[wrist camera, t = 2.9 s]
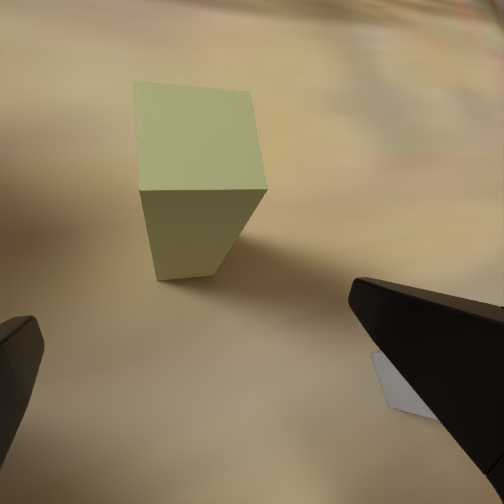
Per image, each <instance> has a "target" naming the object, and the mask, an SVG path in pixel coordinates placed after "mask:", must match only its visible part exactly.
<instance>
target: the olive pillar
mask: <svg viewBox="0 0 504 504" xmlns="http://www.w3.org/2000/svg"><path fill="white" fill-rule="evenodd" d="M133 84H134V102H135V120H136V138H137V156H138V174H139V191H140V196H141V201H142V206H143V211H144V216H145V221H146V227H147V232H148V237H149V242H150V247H151V252H152V257H153V262H154V267H155V272H156V277H157V281H162V280H173V279H183V278H194V277H204V276H214V275H215V273H216V271H217V270H218V268H219V267H220V265H221V263H222V262H223V260H224V259H225V257H226V255H227V254H228V252H229V251H230V249H231V247H232V246H233V244H234V243H235V241H236V239H237V238H238V236H239V235H240V233H241V231H242V230H243V228H244V226H245V225H246V223H247V222H248V220H249V218H250V217H251V215H252V214H253V212H254V210H255V209H256V207H257V206H258V204H259V202H260V201H261V199H262V198H263V196H264V194H265V193H266V191H267V190H268V188H267V182H266V177H265V171H264V166H263V160H262V155H261V150H260V144H259V139H258V133H257V128H256V122H255V117H254V111H253V106H252V101H251V95H250V92H248V91H237V90H226V89H215V88H204V87H193V86H182V85H171V84H160V83H149V82H138V81H133Z"/></svg>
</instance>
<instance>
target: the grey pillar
mask: <svg viewBox="0 0 504 504" xmlns="http://www.w3.org/2000/svg"><path fill="white" fill-rule="evenodd" d="M371 356H372V359H373V362H374V364H375V367H376V370H377V373H378V376H379V379H380V382H381V385H382V388H383V391H384V394H385V397H386V400H387V403H388V406H389V407H392V408H395V409H399V410H402V411H406V412H410V413H413V414H417V415H420V416H424V417H428V418H431V419H435V420H438V419H437V417H436V416H435V415H434V414H433V413H432V411H431V410H430V409H429V408H428V407H427V405H426V404H425V403H424V402H423V401H422V399H421V398H420V397H419V396H418V395H417V393H416V392H415V391H414V390H413V388H412V387H411V386H410V385H409V384H408V382H407V381H406V380H405V379H404V378H403V376H402V375H401V374H400V373H399V372H398V370H397V369H396V368H395V367H394V366H393V364H392V363H391V362H390V361H389V360H388V358H387V357H386V356H385V355H384V354H383V352H382V351H381V350H377V351H374V352H371ZM438 421H439V420H438Z"/></svg>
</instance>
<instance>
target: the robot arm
mask: <svg viewBox="0 0 504 504" xmlns="http://www.w3.org/2000/svg"><path fill="white" fill-rule="evenodd" d="M348 303H349V306H350V308H351V309H352V311H353V312H354V314H355V315H356V317H357V318H358V320H359V321H360V323H361V324H362V326H363V327H364V329H365V330H366V332H367V333H368V334H369V336H370V337H371V339H372V340H373V341H374V343H375V344H376V345H377V346H378V347H379V349H380V350H381V351H382V352H383V354H384V355H385V356H386V357H387V358H388V360H389V361H390V362H391V363H392V364H393V366H394V367H395V368H396V369H397V370H398V372H399V373H400V374H401V375H402V376H403V378H404V379H405V380H406V381H407V382H408V384H409V385H410V386H411V387H412V388H413V390H414V391H415V392H416V393H417V395H418V396H419V397H420V398H421V399H422V401H423V402H424V403H425V404H426V405H427V407H428V408H429V409H430V410H431V411H432V413H433V414H434V415H435V416H436V417H437V419H438V420H439V421H440V422H441V423H442V425H443V426H444V427H445V428H446V429H447V431H448V432H449V433H450V434H451V435H452V437H453V438H454V439H455V440H456V442H457V443H458V444H459V445H460V446H461V448H462V449H463V450H464V451H465V452H466V454H467V455H468V456H469V457H470V458H471V460H472V461H473V462H474V463H475V464H476V466H477V467H478V468H479V469H480V470H481V472H482V473H483V474H484V475H486V478H487V479H488V480H489V482H490V483H491V484H492V486H493V487H494V489H495V490H496V492H497V493H498V495H499V497H500V498H501V500H502V502H503V504H504V307H503V306H501V307H499V306H496V305H492V304H487V303H483V302H478V301H474V300H469V299H465V298H460V297H455V296H451V295H446V294H442V293H437V292H433V291H428V290H424V289H419V288H414V287H410V286H405V285H401V284H396V283H392V282H387V281H382V280H378V279H373V278H369V277H361V278H356V279H355V280H354V281H353V283H352V287H351V290H350V294H349V298H348ZM43 352H44V339H43V336H42V334H41V331H40V328H39V325H38V322H37V320H36V318H35V317H34V316H32V315H29V316H20V317H14V318H11V319H9V320H7V321H5V322H3V323H1V324H0V469H1V467H2V464H3V462H4V460H5V457H6V455H7V453H8V450H9V448H10V446H11V443H12V441H13V439H14V437H15V434H16V432H17V430H18V427H19V425H20V423H21V420H22V418H23V416H24V413H25V411H26V408H27V406H28V403H29V400H30V397H31V394H32V391H33V387H34V384H35V380H36V377H37V373H38V370H39V366H40V363H41V359H42V356H43Z"/></svg>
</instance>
